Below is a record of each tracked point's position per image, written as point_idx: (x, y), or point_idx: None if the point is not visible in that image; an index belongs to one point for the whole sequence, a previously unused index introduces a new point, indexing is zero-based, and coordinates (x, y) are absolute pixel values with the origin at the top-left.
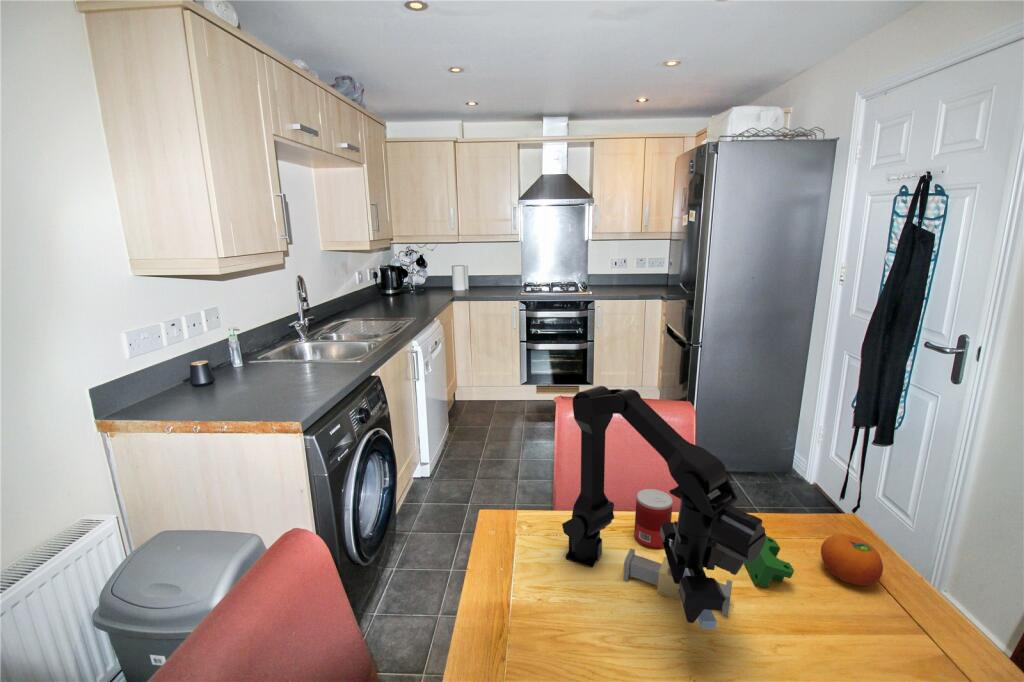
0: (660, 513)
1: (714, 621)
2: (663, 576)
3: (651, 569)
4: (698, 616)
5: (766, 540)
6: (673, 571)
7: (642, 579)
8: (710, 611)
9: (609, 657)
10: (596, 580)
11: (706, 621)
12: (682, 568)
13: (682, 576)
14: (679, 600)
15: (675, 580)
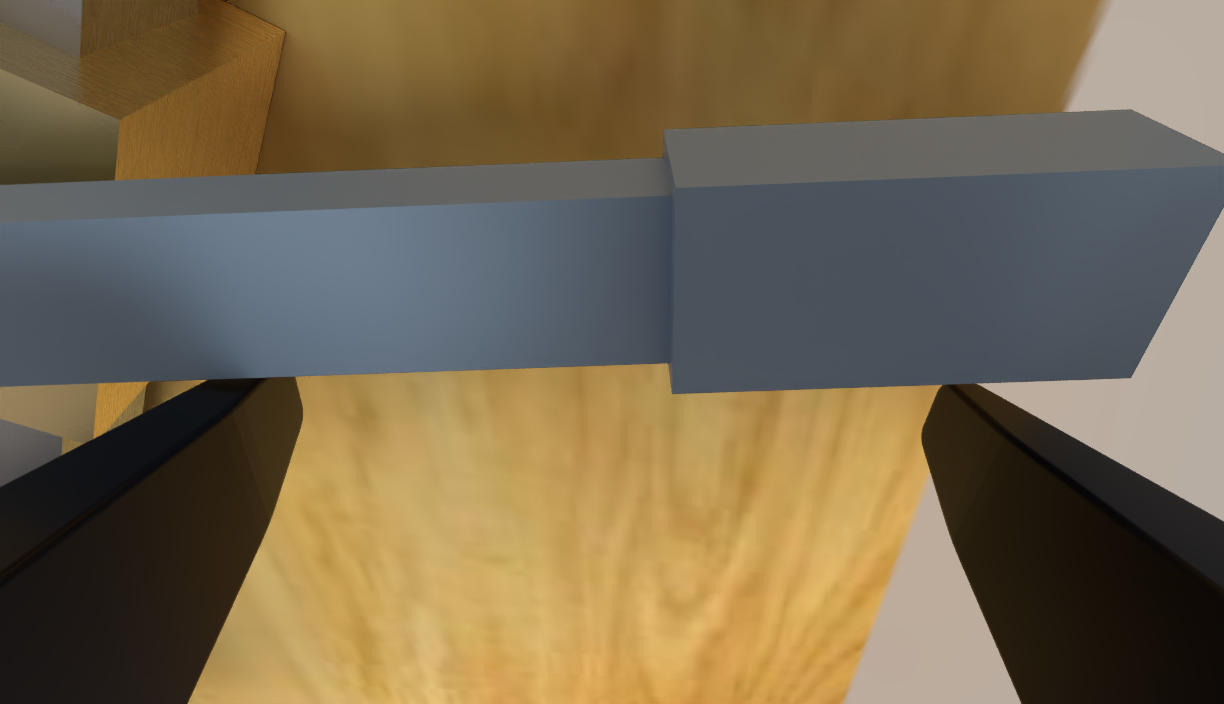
0: None
1: (1220, 200)
2: (121, 383)
3: (47, 444)
4: (1129, 471)
5: None
6: (216, 597)
7: (142, 405)
8: (1014, 198)
9: (795, 596)
10: (252, 592)
11: (1154, 322)
12: (110, 557)
13: (217, 424)
14: (263, 120)
15: (282, 444)
